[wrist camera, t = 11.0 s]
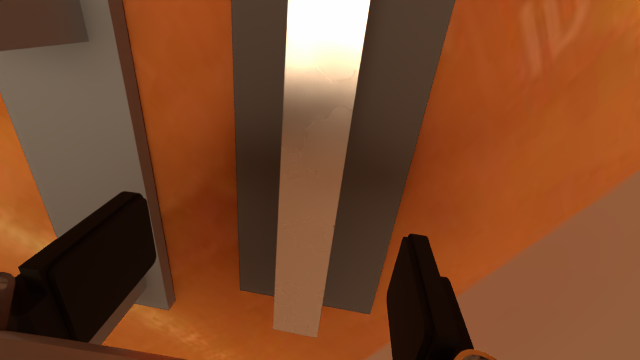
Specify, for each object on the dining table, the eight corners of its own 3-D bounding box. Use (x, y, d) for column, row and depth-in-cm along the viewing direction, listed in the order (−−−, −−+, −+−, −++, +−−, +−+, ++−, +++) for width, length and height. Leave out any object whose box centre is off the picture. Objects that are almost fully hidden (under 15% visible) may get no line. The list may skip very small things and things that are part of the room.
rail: (322, 301, 23) (316, 337, 21) (283, 293, 24) (272, 329, 21) (391, -136, 12) (397, -177, 9) (312, -142, 12) (296, -185, 9)
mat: (369, 307, 24) (369, 314, 23) (242, 284, 25) (240, 290, 24) (489, -140, 12) (494, -147, 11) (231, -161, 12) (225, -168, 12)
